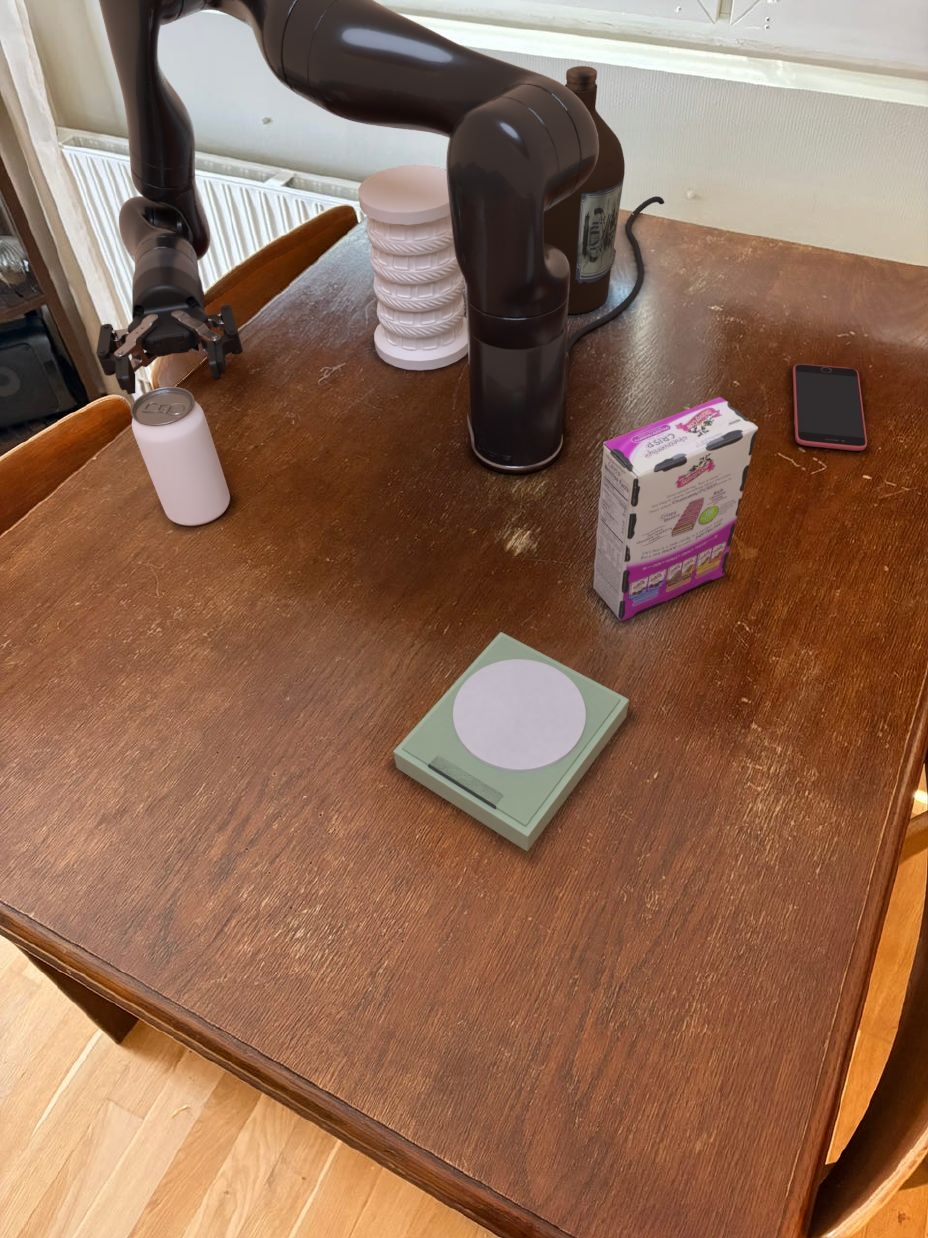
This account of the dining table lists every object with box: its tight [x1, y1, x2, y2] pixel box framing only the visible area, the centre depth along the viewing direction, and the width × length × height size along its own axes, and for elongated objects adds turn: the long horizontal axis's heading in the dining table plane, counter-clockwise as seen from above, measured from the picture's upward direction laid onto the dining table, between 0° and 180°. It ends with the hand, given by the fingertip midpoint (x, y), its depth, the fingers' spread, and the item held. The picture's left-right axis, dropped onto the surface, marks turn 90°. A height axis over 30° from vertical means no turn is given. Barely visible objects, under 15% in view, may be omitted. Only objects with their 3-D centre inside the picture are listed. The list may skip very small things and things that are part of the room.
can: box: [130, 386, 231, 527], centre depth 84 cm, size 6×6×12 cm
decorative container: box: [357, 164, 468, 371], centre depth 99 cm, size 12×12×18 cm
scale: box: [392, 631, 630, 852], centre depth 68 cm, size 14×12×3 cm
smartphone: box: [792, 363, 868, 452], centre depth 94 cm, size 7×1×14 cm
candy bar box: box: [592, 396, 759, 622], centre depth 73 cm, size 11×5×16 cm, turn 117°
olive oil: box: [543, 65, 626, 315], centre depth 102 cm, size 11×11×25 cm
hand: (172, 379), depth 89 cm, fingers open, 8 cm apart
